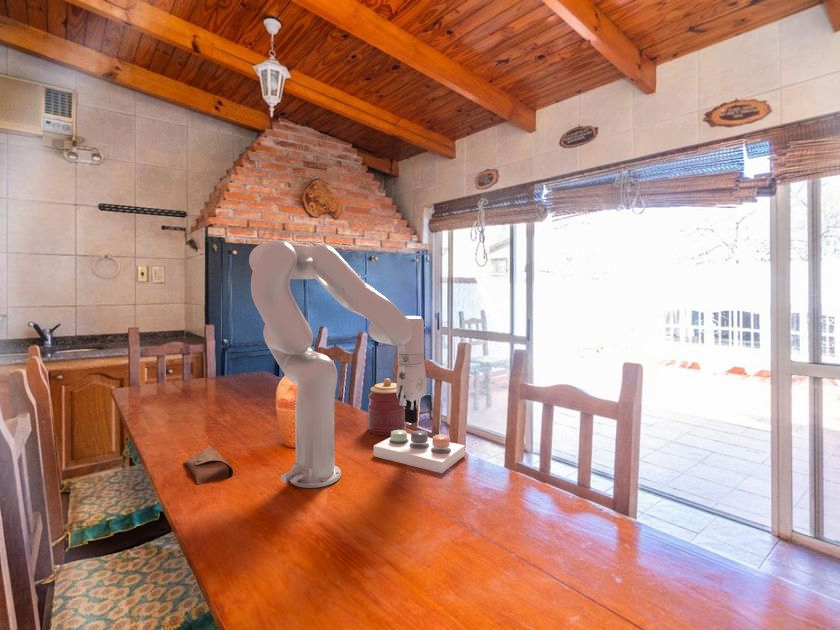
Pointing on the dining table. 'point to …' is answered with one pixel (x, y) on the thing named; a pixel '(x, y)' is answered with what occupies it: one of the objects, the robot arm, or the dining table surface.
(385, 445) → the panel
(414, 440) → the charcoal button
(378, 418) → the canister
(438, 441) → the terracotta button
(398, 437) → the sage button
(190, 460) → the sunglasses case
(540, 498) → the dining table surface
